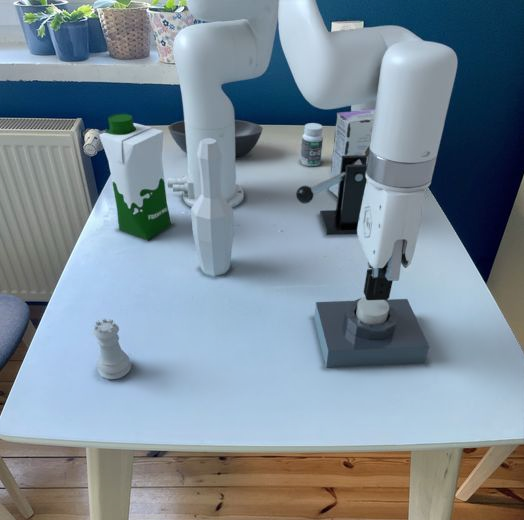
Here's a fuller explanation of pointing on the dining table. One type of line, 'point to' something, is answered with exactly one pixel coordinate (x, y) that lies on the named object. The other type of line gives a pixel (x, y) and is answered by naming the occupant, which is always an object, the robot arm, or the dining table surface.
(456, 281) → the dining table surface
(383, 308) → the white push button
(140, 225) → the milk carton
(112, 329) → the rook chess piece
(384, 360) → the block
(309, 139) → the pill bottle
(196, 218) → the low poly bottle
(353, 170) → the lever bracket
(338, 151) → the candy box
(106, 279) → the dining table surface
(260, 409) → the dining table surface
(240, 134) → the bowl
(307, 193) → the ball knob lever
